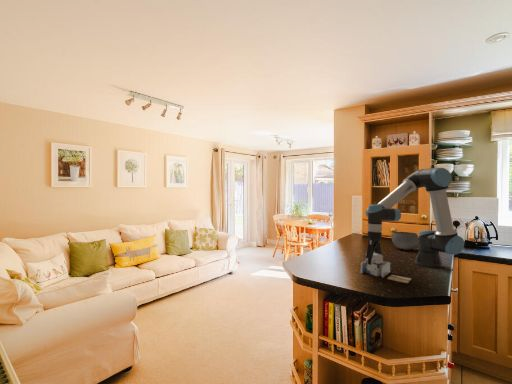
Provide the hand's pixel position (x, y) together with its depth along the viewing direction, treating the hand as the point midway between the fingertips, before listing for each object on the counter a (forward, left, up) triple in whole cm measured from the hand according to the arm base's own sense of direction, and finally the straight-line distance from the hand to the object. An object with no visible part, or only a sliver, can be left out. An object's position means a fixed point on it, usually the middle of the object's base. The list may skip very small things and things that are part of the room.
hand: (373, 268), depth 156 cm
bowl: (-100, -3, -4) cm, 100 cm away
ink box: (0, 0, -4) cm, 4 cm away
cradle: (-3, 0, -3) cm, 5 cm away
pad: (+1, +14, -3) cm, 14 cm away
